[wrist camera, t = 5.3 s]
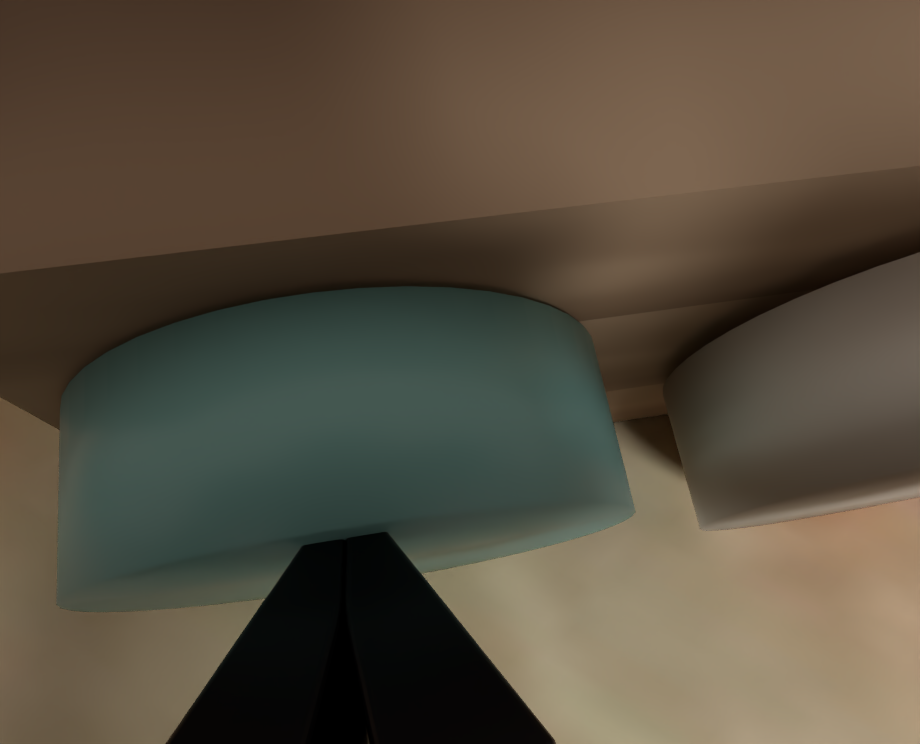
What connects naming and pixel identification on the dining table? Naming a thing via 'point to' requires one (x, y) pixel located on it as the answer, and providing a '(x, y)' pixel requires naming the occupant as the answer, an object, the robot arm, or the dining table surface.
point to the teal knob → (329, 442)
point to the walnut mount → (500, 200)
